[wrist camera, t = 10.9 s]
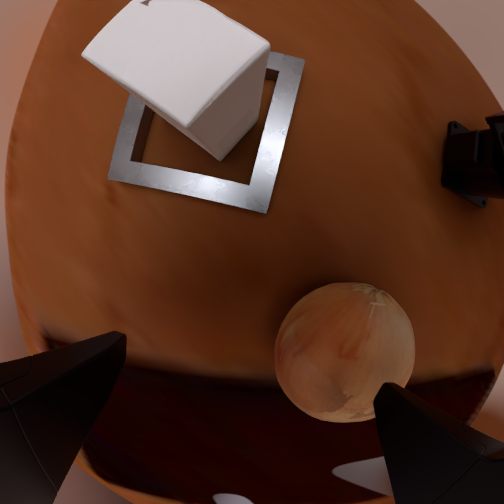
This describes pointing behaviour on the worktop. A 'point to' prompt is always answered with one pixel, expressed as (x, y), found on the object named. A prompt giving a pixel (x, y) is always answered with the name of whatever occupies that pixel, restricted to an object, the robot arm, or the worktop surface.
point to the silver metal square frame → (206, 187)
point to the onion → (343, 350)
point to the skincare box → (187, 67)
